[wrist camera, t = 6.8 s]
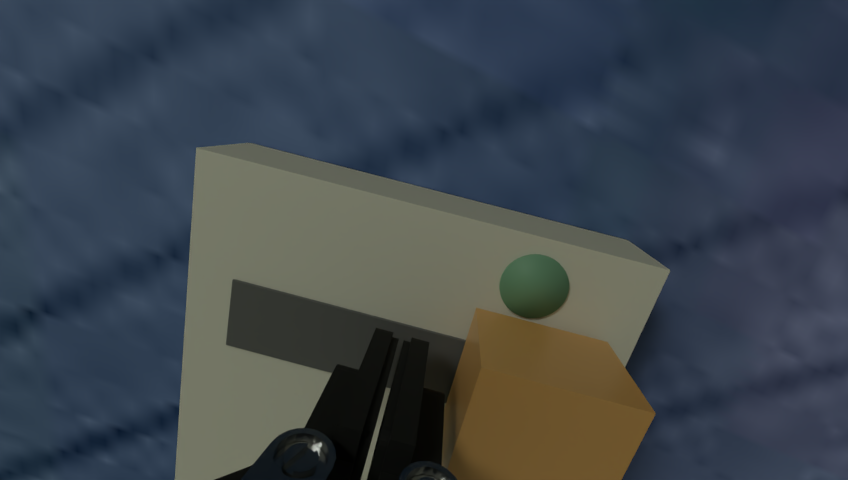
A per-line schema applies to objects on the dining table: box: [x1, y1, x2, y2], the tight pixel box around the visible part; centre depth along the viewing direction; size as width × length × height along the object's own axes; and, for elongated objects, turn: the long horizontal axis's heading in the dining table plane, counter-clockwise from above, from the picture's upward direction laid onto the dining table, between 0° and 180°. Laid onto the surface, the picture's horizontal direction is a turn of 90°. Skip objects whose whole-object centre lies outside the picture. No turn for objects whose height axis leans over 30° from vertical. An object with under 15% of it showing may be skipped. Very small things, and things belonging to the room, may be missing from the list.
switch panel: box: [175, 143, 670, 480], centre depth 16 cm, size 14×20×3 cm
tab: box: [442, 308, 656, 480], centre depth 11 cm, size 4×5×3 cm
